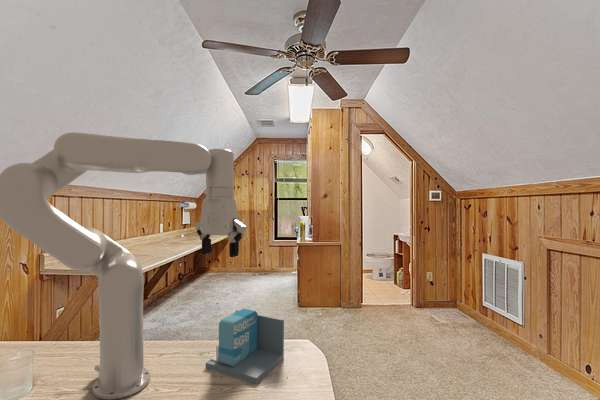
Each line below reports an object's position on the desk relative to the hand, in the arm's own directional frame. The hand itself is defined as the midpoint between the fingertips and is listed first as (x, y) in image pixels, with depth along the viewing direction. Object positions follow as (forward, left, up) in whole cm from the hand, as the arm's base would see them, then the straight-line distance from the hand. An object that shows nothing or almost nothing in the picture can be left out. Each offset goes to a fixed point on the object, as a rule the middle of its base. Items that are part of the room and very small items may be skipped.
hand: (219, 254), depth 94 cm
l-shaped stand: (+7, +2, -30) cm, 31 cm away
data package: (+5, +2, -29) cm, 30 cm away
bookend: (+1, +2, -29) cm, 29 cm away
